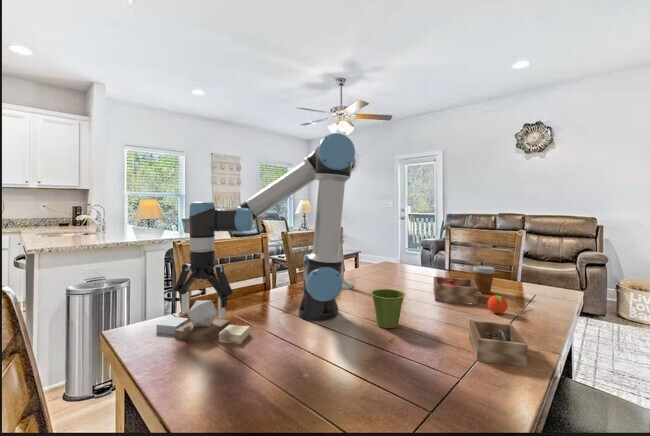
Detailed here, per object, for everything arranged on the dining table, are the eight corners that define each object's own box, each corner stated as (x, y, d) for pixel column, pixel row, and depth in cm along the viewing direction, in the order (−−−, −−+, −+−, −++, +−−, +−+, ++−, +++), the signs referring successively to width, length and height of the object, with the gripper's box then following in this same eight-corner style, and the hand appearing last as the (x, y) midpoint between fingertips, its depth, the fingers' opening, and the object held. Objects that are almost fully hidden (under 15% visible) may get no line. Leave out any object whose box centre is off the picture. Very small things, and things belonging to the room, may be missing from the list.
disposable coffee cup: (495, 291, 158) (496, 266, 157) (492, 296, 150) (494, 270, 149) (473, 288, 163) (474, 264, 163) (470, 293, 155) (471, 267, 155)
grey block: (188, 327, 113) (188, 318, 112) (176, 335, 106) (176, 326, 106) (170, 325, 114) (169, 316, 114) (156, 333, 107) (156, 324, 107)
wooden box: (471, 294, 153) (472, 279, 153) (477, 304, 138) (478, 288, 138) (433, 290, 158) (433, 276, 158) (435, 301, 143) (435, 285, 142)
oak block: (249, 335, 106) (249, 326, 106) (240, 344, 100) (240, 335, 99) (229, 333, 108) (229, 324, 108) (218, 342, 101) (218, 333, 101)
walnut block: (230, 329, 112) (229, 320, 112) (207, 344, 100) (207, 334, 100) (199, 325, 115) (199, 316, 115) (175, 339, 104) (174, 330, 104)
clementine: (510, 318, 123) (511, 299, 123) (490, 316, 125) (491, 298, 124) (503, 311, 131) (504, 293, 131) (484, 309, 133) (485, 292, 132)
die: (199, 334, 102) (218, 307, 104) (177, 319, 103) (196, 292, 105) (208, 333, 110) (226, 307, 112) (188, 319, 111) (205, 294, 113)
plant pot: (406, 321, 119) (406, 290, 119) (402, 333, 108) (403, 300, 107) (373, 316, 123) (374, 287, 122) (367, 328, 112) (367, 296, 111)
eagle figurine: (473, 343, 99) (493, 352, 90) (484, 320, 100) (505, 327, 91) (495, 357, 99) (517, 368, 90) (506, 335, 101) (529, 343, 91)
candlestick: (329, 282, 172) (329, 224, 170) (353, 283, 171) (354, 225, 169) (325, 288, 160) (326, 227, 158) (352, 290, 158) (353, 227, 156)
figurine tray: (510, 343, 102) (511, 324, 102) (526, 367, 88) (527, 345, 87) (469, 338, 105) (469, 319, 105) (477, 360, 91) (478, 339, 90)
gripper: (243, 250, 106) (243, 314, 108) (177, 246, 113) (179, 307, 114) (230, 254, 99) (231, 323, 100) (161, 249, 106) (162, 314, 107)
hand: (203, 314), depth 107 cm, fingers open, 13 cm apart
